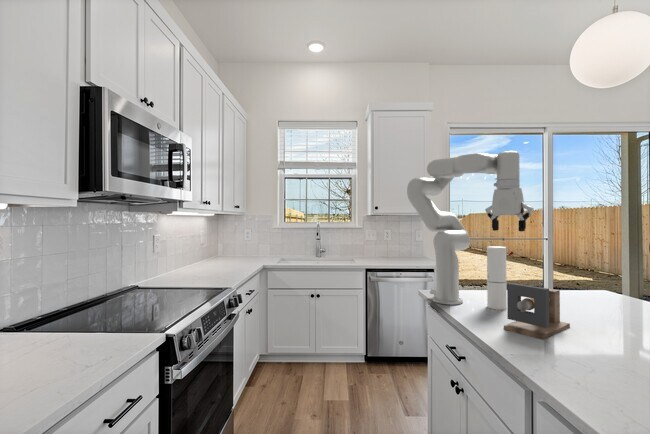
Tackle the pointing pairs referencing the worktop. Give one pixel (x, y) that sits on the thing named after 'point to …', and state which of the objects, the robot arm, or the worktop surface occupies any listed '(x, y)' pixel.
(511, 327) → the pipe mount
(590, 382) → the worktop surface
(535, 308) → the dark grey square plate
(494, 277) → the cylindrical container
